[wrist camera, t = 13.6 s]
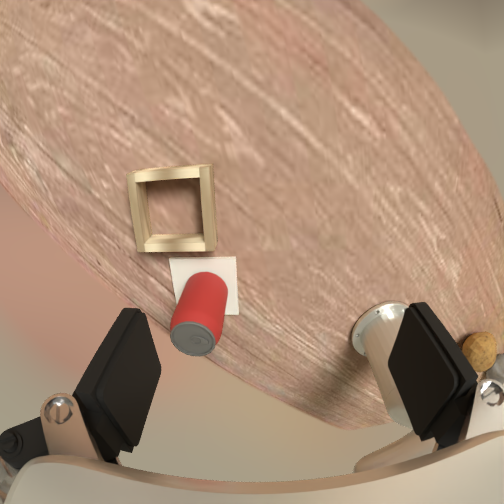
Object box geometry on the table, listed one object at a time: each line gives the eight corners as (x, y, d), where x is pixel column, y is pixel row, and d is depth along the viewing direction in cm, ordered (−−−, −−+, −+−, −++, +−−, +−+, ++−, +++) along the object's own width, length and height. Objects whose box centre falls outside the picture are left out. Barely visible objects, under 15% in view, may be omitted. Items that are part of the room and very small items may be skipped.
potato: (478, 313, 47) (496, 334, 39) (490, 337, 50) (505, 356, 43) (448, 343, 50) (463, 366, 42) (464, 363, 53) (477, 383, 46)
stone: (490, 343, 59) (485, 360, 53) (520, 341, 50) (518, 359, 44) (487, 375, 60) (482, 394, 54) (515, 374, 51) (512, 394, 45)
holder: (213, 163, 36) (208, 167, 33) (217, 241, 41) (214, 251, 38) (136, 169, 36) (126, 174, 33) (146, 242, 41) (137, 252, 38)
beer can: (226, 308, 45) (218, 363, 34) (185, 302, 45) (167, 354, 34) (230, 272, 42) (221, 323, 31) (186, 266, 42) (164, 315, 31)
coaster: (236, 256, 42) (235, 258, 41) (238, 312, 46) (238, 314, 45) (170, 257, 42) (168, 259, 41) (179, 311, 46) (178, 313, 46)
